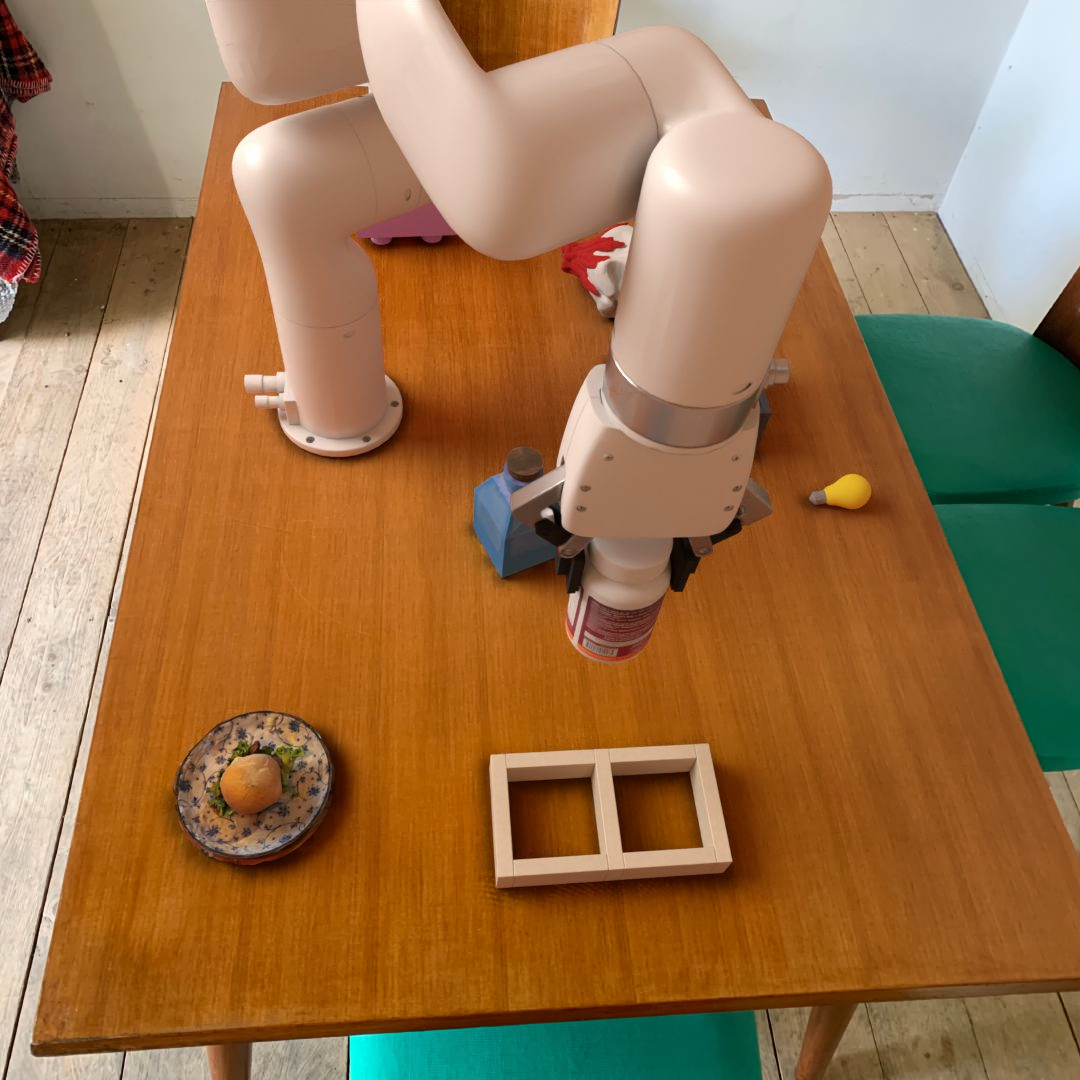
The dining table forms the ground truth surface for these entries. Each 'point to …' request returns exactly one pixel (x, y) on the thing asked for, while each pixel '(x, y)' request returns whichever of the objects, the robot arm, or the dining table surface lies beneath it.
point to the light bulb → (844, 492)
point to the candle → (600, 265)
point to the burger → (254, 787)
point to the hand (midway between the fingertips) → (622, 572)
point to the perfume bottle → (510, 516)
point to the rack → (609, 815)
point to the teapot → (410, 226)
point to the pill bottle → (619, 597)
